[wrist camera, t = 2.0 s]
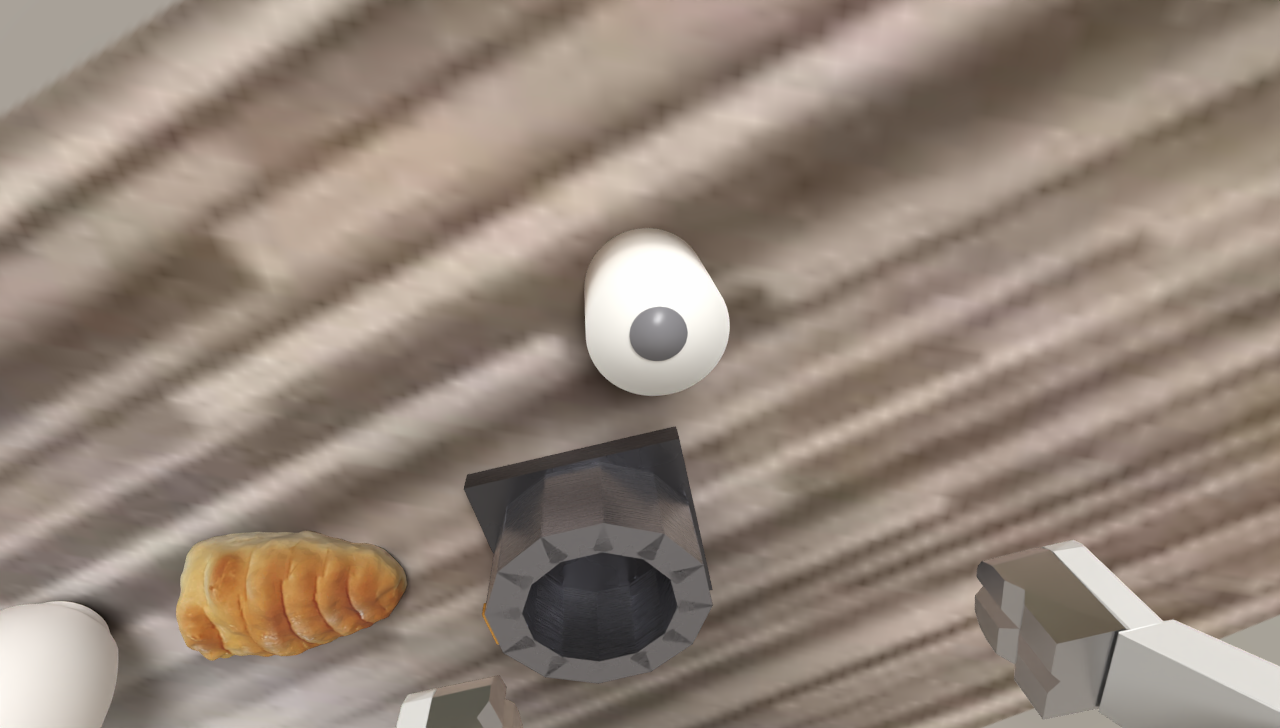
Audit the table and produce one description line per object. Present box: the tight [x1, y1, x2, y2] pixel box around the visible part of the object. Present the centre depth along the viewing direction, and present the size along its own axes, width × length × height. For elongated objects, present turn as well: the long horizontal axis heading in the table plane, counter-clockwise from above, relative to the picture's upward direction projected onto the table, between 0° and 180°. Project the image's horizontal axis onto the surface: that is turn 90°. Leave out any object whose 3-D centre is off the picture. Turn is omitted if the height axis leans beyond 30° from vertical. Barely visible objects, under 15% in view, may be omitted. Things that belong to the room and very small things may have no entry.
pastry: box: [176, 530, 407, 661], centre depth 29 cm, size 9×7×4 cm
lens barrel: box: [464, 427, 713, 683], centre depth 28 cm, size 10×10×5 cm
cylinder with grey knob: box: [584, 228, 730, 396], centre depth 23 cm, size 5×5×5 cm
